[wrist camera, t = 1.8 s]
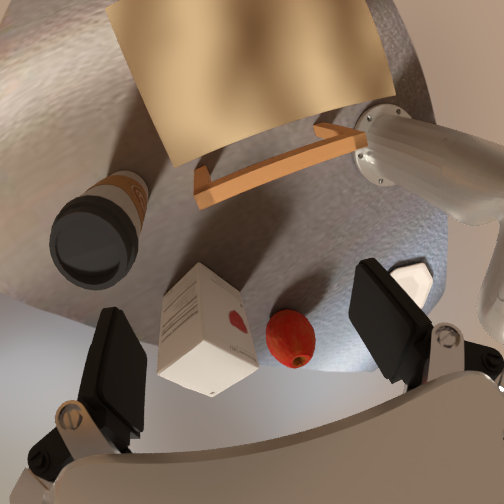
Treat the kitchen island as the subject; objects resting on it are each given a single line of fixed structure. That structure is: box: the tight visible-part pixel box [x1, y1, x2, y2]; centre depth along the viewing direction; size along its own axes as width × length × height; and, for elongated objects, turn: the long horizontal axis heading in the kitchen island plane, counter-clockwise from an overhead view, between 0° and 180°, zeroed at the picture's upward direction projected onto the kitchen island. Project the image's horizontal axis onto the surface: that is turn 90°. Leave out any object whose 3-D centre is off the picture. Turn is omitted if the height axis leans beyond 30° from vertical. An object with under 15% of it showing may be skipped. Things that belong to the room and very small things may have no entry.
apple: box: [266, 309, 316, 368], centre depth 43 cm, size 8×8×11 cm
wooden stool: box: [105, 0, 396, 168], centre depth 19 cm, size 16×12×17 cm
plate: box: [389, 262, 433, 309], centre depth 52 cm, size 20×20×2 cm
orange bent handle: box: [193, 122, 368, 210], centre depth 28 cm, size 18×2×10 cm, turn 110°
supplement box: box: [157, 262, 259, 397], centre depth 35 cm, size 9×9×15 cm
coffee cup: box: [49, 171, 149, 290], centre depth 25 cm, size 8×8×15 cm
